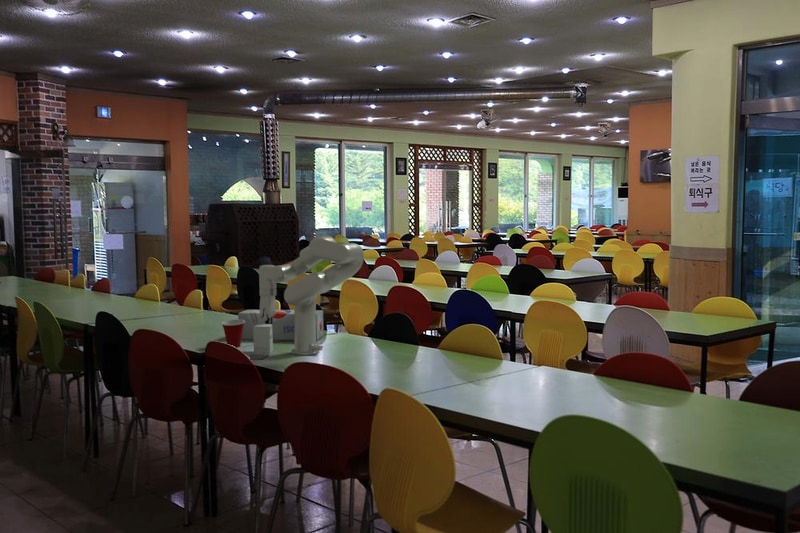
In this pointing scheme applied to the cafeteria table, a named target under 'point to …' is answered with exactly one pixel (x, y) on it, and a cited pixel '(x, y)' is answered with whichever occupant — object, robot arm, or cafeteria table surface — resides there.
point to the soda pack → (277, 324)
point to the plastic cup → (233, 331)
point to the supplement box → (263, 339)
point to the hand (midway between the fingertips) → (268, 332)
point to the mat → (257, 357)
